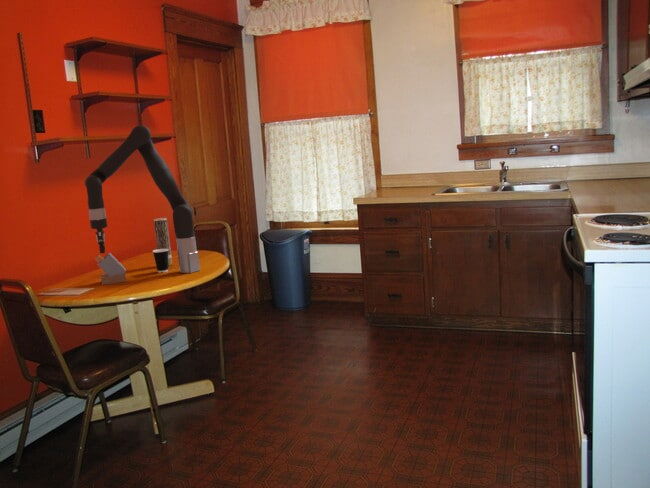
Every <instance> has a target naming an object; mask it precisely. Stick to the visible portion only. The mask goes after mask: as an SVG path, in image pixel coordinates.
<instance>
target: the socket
mask: <svg viewBox="0 0 650 488" xmlns="http://www.w3.org/2000/svg"><path fill="white" fill-rule="evenodd" d="M103 258H104V260H103V261H101V262H100V263H99V262H97V267H99V268H100V269H101V270H102V271H103V272H104V273H102V274H100V281H101V285H102V286H105V285H113V284H120V283H126V282H127V278H126V277H127V276H126V271H127V269H126V268H125V266H123V264H122V263H121V262H119V260H118V259H117V258H116V257H115V256H114V255H113V254H112V253H111V252H108V253H107V254H106V255H105V256H103Z"/></svg>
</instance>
